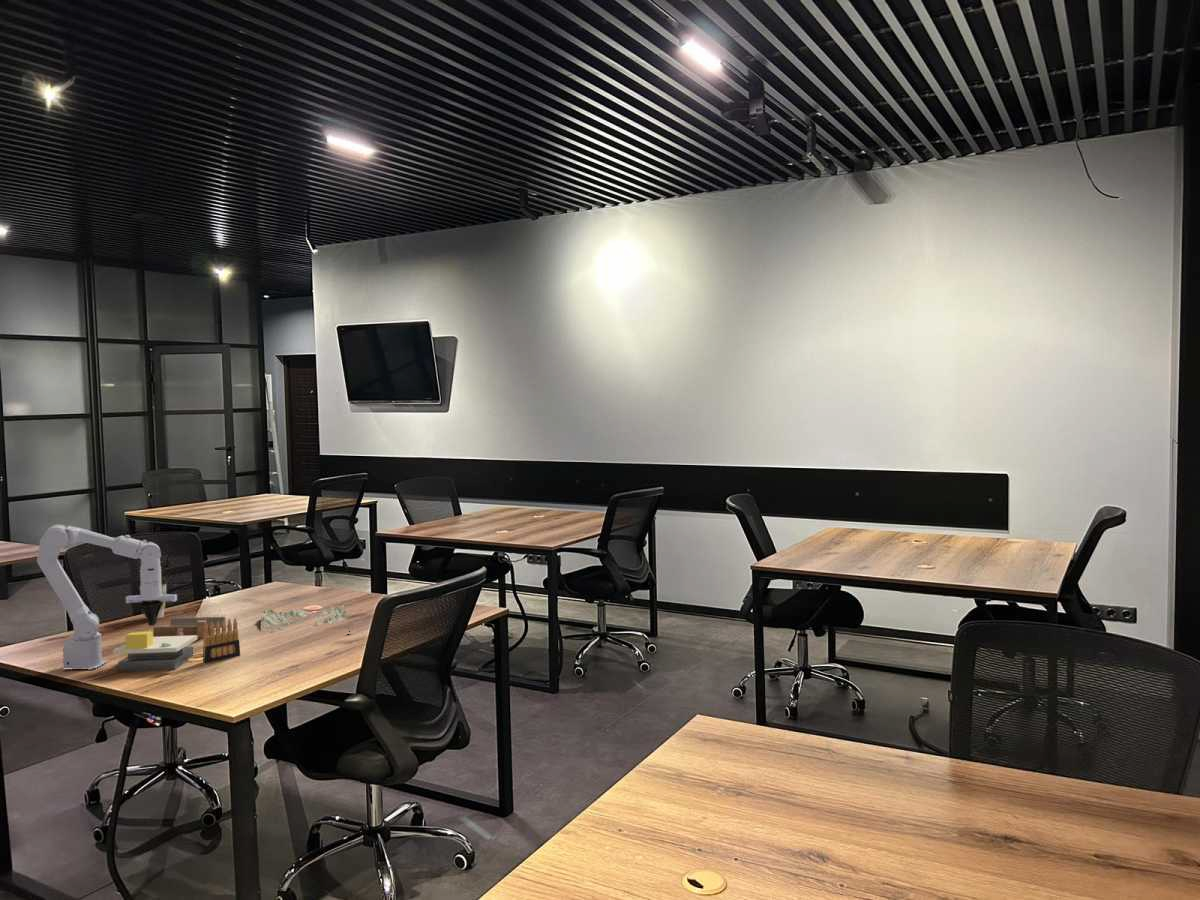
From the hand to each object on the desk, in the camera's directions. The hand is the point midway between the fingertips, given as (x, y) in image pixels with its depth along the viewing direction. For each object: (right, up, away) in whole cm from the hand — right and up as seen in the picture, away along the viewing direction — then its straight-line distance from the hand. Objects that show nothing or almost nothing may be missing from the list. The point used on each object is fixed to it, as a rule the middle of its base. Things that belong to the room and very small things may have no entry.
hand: (152, 624), depth 258 cm
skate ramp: (-3, -10, +25) cm, 27 cm away
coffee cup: (-27, -9, +52) cm, 59 cm away
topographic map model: (+34, -10, +37) cm, 52 cm away
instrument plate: (+5, -5, -6) cm, 9 cm away
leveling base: (+5, -11, -6) cm, 13 cm away
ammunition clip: (+22, -11, -1) cm, 25 cm away
